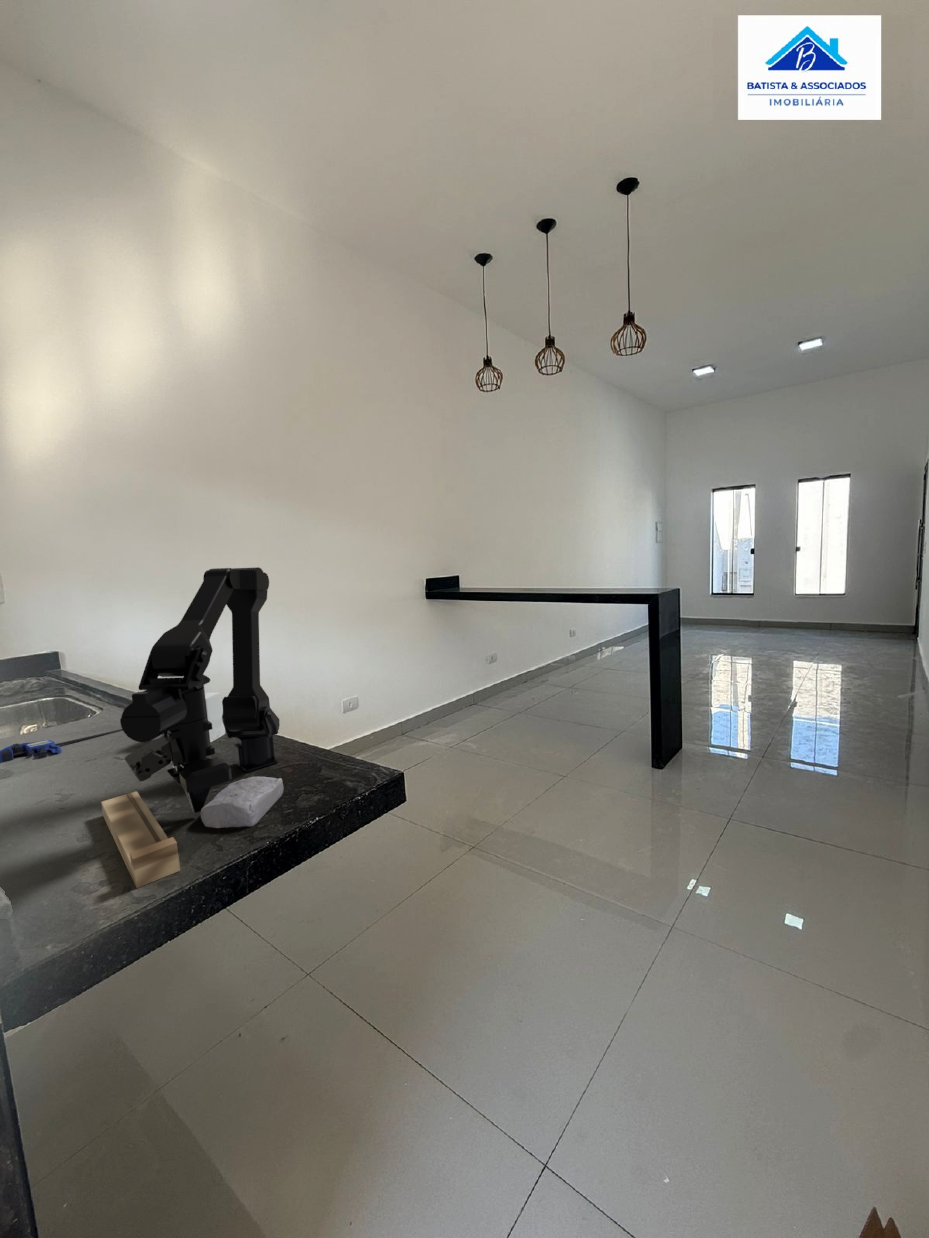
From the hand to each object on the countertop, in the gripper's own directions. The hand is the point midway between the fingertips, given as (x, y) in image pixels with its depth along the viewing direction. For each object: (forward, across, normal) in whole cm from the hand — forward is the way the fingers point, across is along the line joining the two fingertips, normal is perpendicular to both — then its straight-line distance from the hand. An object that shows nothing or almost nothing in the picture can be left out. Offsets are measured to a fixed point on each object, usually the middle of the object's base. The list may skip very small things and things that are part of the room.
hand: (197, 811), depth 81 cm
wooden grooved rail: (+1, 0, -8) cm, 9 cm away
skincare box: (+1, -40, +11) cm, 42 cm away
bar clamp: (+2, -60, -7) cm, 60 cm away
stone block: (+2, +2, +6) cm, 7 cm away
